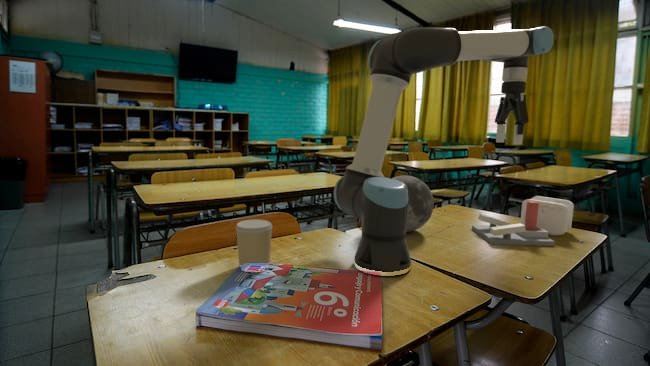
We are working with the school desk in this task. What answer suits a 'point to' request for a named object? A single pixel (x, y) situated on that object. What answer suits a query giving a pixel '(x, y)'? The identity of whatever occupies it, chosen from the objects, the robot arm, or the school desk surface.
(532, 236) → the panel
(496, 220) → the block
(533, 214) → the red capsule
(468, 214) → the school desk surface
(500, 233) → the block
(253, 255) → the coffee cup
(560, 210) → the cable organizer
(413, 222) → the moon model
